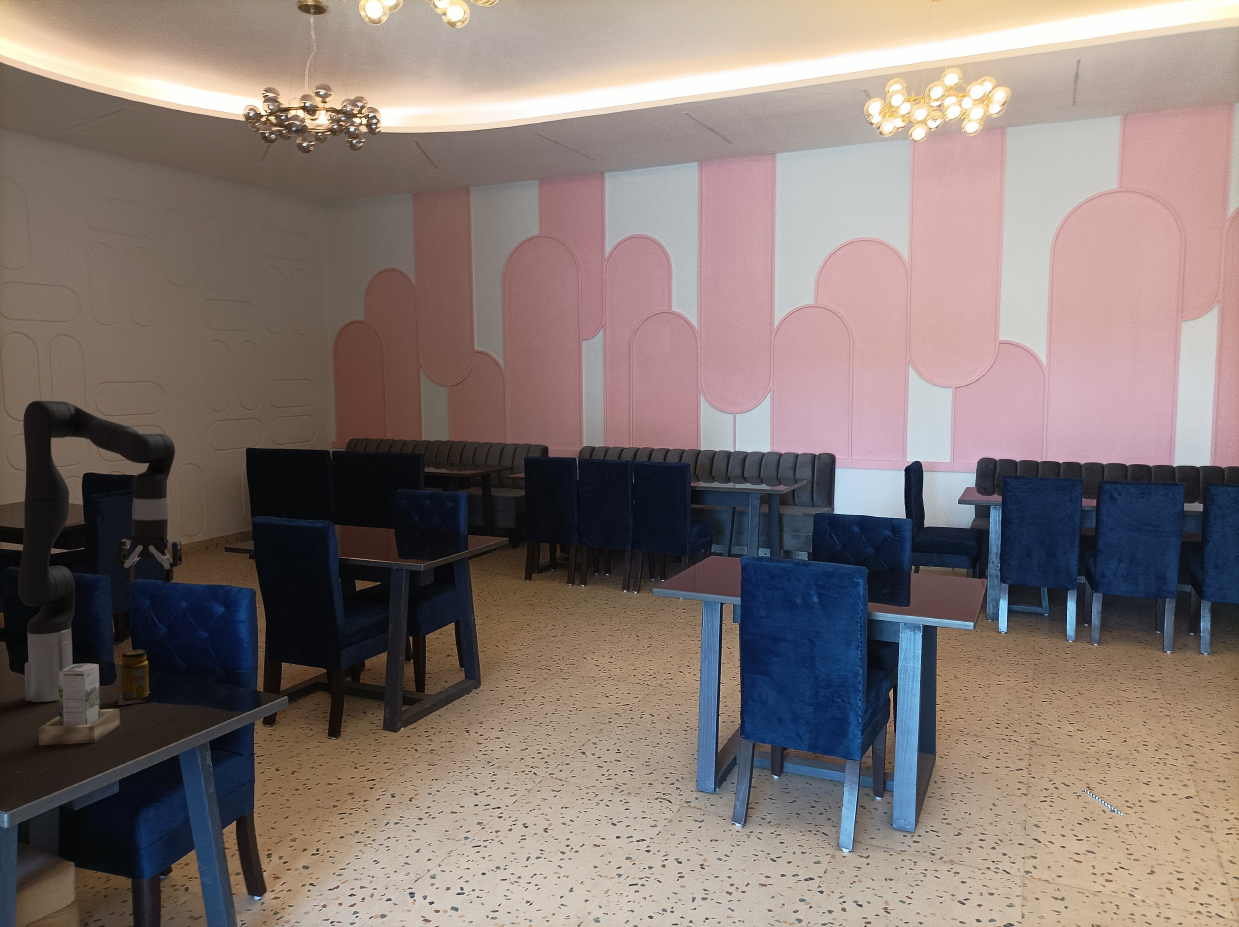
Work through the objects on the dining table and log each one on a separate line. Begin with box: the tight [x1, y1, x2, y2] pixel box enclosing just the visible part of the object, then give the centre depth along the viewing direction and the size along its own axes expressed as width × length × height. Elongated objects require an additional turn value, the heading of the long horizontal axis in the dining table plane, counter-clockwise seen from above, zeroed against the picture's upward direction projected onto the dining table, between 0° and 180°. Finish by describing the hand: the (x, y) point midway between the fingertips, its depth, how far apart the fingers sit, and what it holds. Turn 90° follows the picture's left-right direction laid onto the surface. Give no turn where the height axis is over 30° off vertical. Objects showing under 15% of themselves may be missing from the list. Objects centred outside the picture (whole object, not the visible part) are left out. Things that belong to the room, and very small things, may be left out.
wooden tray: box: [37, 708, 121, 746], centre depth 189 cm, size 11×11×4 cm
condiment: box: [120, 649, 150, 701], centre depth 212 cm, size 7×8×12 cm
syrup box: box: [58, 663, 100, 726], centre depth 188 cm, size 6×6×14 cm
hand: (149, 583), depth 204 cm, fingers open, 8 cm apart
